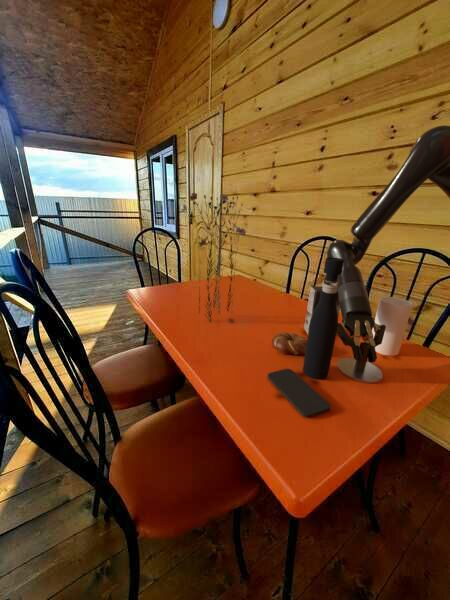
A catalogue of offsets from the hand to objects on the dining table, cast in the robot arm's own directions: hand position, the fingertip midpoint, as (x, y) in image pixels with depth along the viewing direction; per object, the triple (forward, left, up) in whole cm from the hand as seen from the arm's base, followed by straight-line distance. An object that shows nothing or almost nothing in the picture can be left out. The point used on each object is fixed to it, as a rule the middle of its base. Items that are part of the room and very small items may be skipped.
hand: (366, 361), depth 65 cm
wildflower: (+44, -29, -4) cm, 53 cm away
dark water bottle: (+12, +1, -4) cm, 13 cm away
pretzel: (+17, -11, -4) cm, 21 cm away
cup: (-12, -16, -4) cm, 20 cm away
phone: (+18, +10, -4) cm, 21 cm away
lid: (0, -2, -4) cm, 5 cm away
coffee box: (+6, -24, -4) cm, 25 cm away
